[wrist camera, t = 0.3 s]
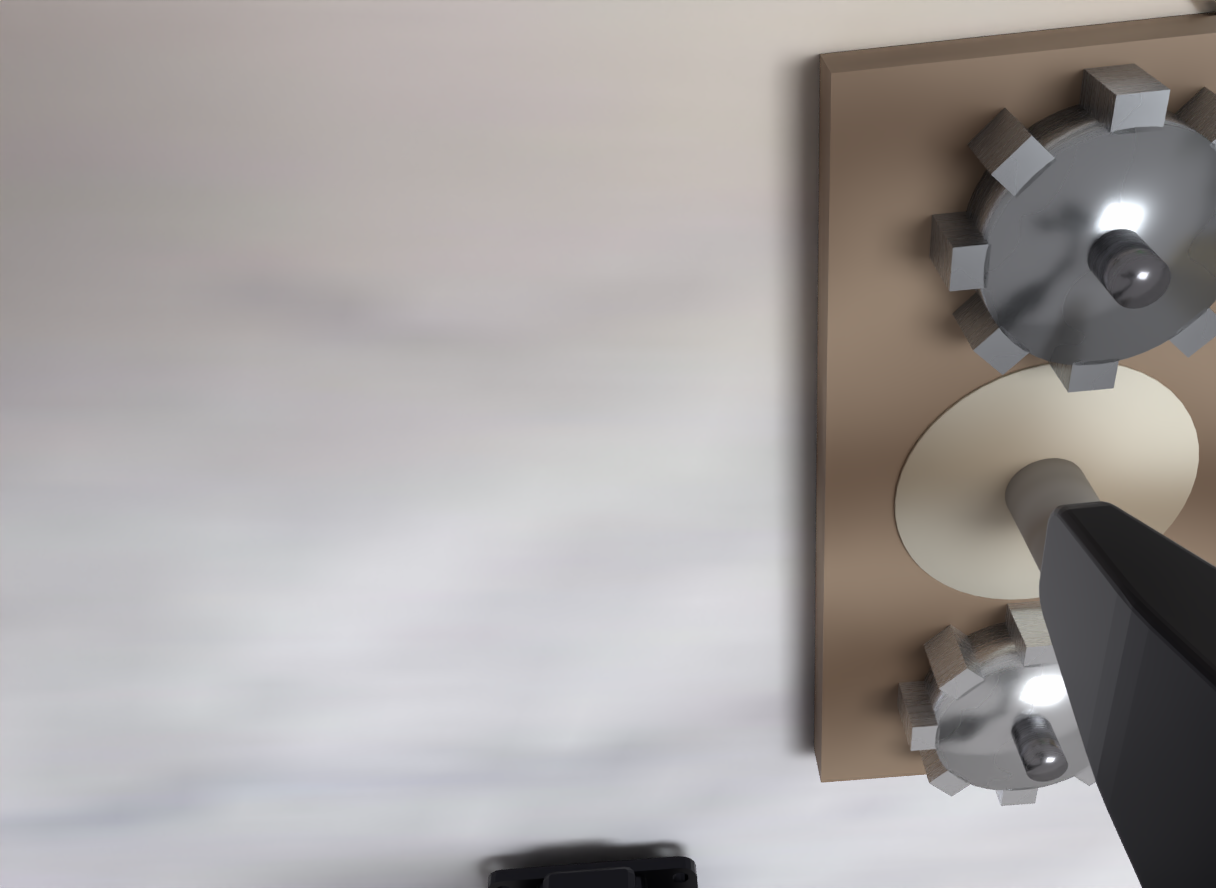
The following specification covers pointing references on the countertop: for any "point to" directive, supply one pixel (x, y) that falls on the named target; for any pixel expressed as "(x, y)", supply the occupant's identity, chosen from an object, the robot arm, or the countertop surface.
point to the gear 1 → (1089, 231)
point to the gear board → (964, 377)
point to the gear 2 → (994, 711)
